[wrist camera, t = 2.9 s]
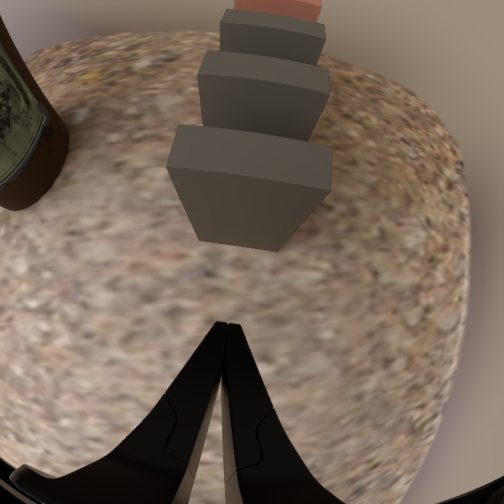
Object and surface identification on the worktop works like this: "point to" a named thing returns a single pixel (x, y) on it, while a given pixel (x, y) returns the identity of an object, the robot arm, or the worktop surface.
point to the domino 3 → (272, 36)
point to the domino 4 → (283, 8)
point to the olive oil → (26, 132)
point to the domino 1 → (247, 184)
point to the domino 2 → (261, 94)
